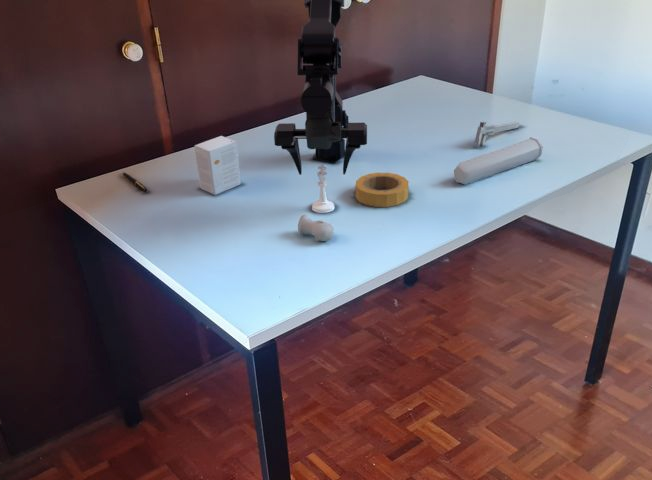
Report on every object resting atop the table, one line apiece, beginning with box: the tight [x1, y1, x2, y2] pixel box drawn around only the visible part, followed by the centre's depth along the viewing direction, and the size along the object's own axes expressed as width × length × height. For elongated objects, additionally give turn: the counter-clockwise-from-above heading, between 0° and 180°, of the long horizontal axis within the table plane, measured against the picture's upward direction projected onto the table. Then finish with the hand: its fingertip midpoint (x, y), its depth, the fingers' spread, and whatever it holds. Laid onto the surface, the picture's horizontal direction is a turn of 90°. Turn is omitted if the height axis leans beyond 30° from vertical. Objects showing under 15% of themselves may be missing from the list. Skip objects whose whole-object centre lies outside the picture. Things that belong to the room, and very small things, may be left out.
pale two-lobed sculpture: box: [297, 213, 335, 242], centre depth 143 cm, size 4×8×5 cm
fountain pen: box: [121, 171, 148, 193], centre depth 167 cm, size 14×1×2 cm, turn 36°
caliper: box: [474, 121, 522, 148], centre depth 182 cm, size 20×1×6 cm, turn 137°
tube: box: [453, 136, 544, 186], centre depth 165 cm, size 5×5×25 cm
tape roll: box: [355, 172, 410, 208], centre depth 157 cm, size 12×12×3 cm
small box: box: [194, 135, 242, 196], centre depth 162 cm, size 8×6×10 cm
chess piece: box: [311, 163, 335, 214], centre depth 151 cm, size 5×5×10 cm
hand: (322, 173), depth 149 cm, fingers open, 9 cm apart
